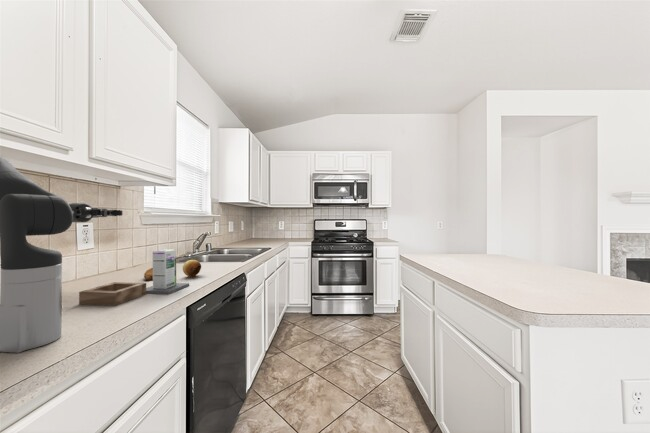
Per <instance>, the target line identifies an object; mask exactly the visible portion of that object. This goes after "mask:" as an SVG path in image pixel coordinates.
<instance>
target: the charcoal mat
mask: <svg viewBox="0 0 650 433" xmlns="http://www.w3.org/2000/svg"><path fill="white" fill-rule="evenodd" d="M187 287H190V283H189V282H188V283H187V282H183V283H182V282H176V286H172V287H169V288H167V289H155V288H153V285H151V286H148V287H146V294H148V295H149V294H152V295H154V294H155V295H171V294H173V293H176V292H178V291H180V290H183V289H185V288H187Z"/></svg>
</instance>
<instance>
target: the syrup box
mask: <svg viewBox="0 0 650 433" xmlns="http://www.w3.org/2000/svg"><path fill="white" fill-rule="evenodd" d="M152 268H153V279H152V286H153V288H155V289H167V288H169V287H172V286H176V283H177V250H176V249H173V248H167V249H166V248H165V249H160V250H159V249H158V250H153V251H152Z"/></svg>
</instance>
